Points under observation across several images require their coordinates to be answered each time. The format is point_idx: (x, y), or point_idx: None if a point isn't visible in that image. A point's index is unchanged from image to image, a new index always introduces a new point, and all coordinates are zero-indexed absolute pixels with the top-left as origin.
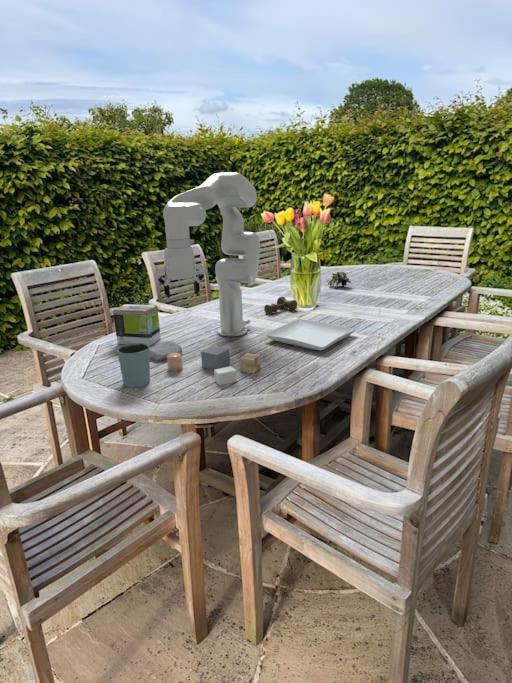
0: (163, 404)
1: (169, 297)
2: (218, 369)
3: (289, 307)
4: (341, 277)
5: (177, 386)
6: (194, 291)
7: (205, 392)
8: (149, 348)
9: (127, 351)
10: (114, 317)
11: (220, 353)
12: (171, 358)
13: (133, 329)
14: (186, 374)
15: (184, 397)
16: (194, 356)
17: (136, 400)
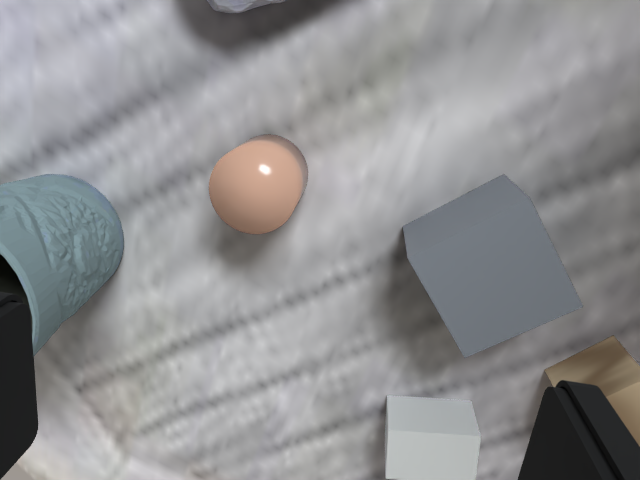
0: (140, 466)
1: (26, 438)
2: (407, 438)
3: None
4: None
5: (223, 364)
6: (554, 412)
7: (307, 465)
8: (39, 337)
9: None
10: None
11: (495, 344)
12: (227, 223)
13: None
14: (298, 270)
15: (222, 459)
16: (434, 41)
17: (53, 391)
